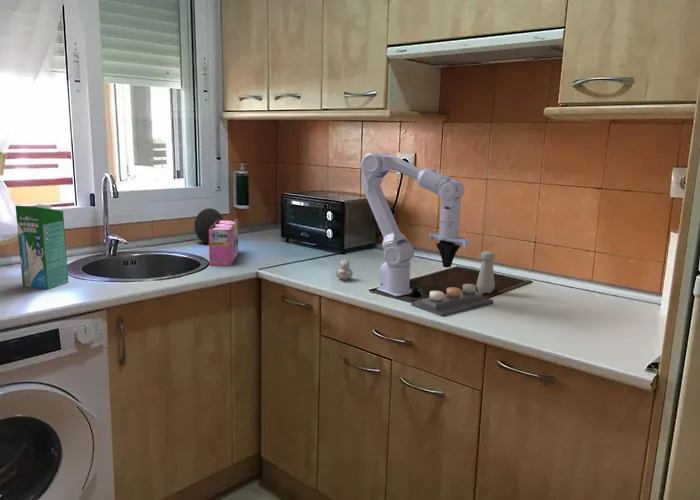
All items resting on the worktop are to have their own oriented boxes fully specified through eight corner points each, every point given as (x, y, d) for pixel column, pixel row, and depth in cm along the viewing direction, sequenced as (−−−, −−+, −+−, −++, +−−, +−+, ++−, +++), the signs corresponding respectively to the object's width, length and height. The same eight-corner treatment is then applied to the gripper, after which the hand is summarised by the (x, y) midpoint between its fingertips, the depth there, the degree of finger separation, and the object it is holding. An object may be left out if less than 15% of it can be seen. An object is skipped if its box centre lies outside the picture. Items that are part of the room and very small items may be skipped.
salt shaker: (481, 288, 190) (484, 249, 187) (497, 291, 186) (500, 252, 184) (472, 292, 185) (475, 251, 183) (489, 295, 182) (492, 254, 179)
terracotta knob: (442, 302, 172) (443, 288, 171) (452, 300, 174) (453, 286, 174) (453, 305, 169) (454, 291, 168) (462, 303, 171) (463, 289, 170)
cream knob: (426, 306, 168) (426, 292, 167) (435, 303, 170) (436, 289, 169) (436, 309, 165) (437, 295, 164) (445, 307, 167) (446, 293, 166)
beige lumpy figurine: (354, 278, 199) (355, 255, 197) (349, 283, 192) (349, 259, 191) (339, 276, 200) (339, 254, 198) (333, 281, 194) (334, 258, 192)
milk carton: (68, 282, 184) (62, 203, 179) (47, 289, 176) (40, 207, 171) (45, 279, 187) (38, 201, 181) (22, 286, 178) (14, 205, 173)
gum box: (219, 252, 234) (218, 218, 231) (239, 252, 234) (238, 218, 231) (208, 266, 210) (208, 228, 208) (231, 266, 211) (230, 229, 208)
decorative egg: (206, 239, 258) (205, 205, 254) (230, 242, 253) (229, 207, 250) (188, 244, 246) (187, 209, 243) (213, 247, 242) (212, 211, 239)
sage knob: (459, 298, 176) (459, 285, 175) (467, 296, 179) (468, 283, 178) (469, 301, 173) (470, 288, 172) (478, 299, 176) (479, 286, 175)
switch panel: (411, 305, 170) (411, 296, 169) (462, 293, 183) (462, 285, 182) (441, 316, 160) (442, 307, 160) (492, 303, 174) (493, 294, 173)
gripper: (422, 219, 174) (420, 263, 176) (459, 226, 162) (456, 273, 165) (438, 217, 178) (436, 260, 181) (476, 224, 167) (472, 270, 170)
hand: (446, 266), depth 173 cm, fingers closed
